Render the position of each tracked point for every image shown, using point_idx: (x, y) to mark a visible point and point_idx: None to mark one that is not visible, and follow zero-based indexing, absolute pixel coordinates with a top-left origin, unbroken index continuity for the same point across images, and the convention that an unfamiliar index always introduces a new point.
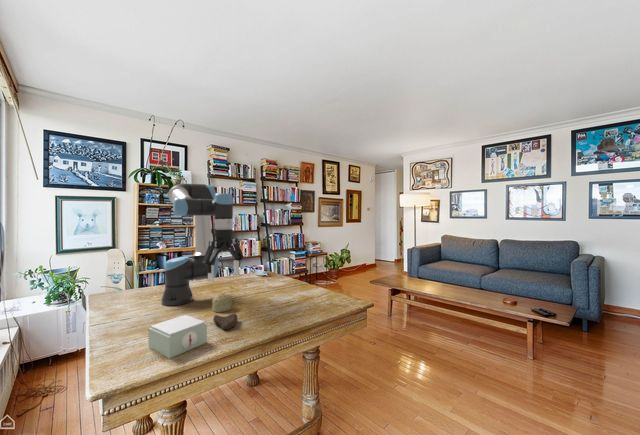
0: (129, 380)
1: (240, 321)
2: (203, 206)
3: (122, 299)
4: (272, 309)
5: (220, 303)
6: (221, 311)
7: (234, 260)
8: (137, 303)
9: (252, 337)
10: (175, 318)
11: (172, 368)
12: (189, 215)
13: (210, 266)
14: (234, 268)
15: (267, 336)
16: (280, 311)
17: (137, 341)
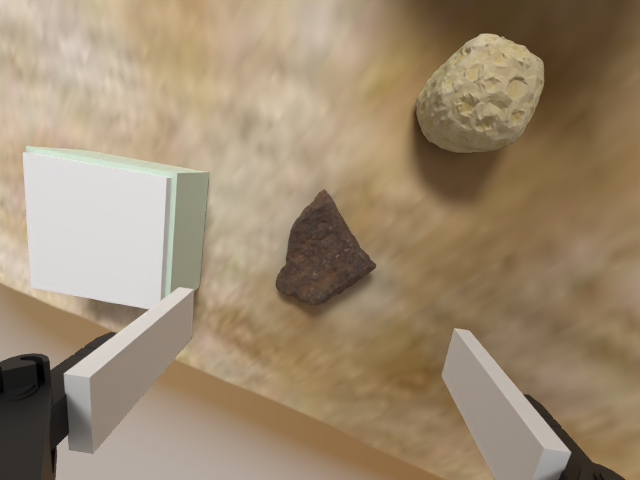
0: None
1: (374, 274)
2: None
3: None
4: (534, 313)
5: (437, 128)
6: (427, 137)
7: (537, 464)
8: None
9: (284, 381)
10: (119, 175)
11: (69, 311)
12: None
13: (70, 418)
14: (476, 377)
15: (307, 413)
16: (520, 352)
17: (88, 65)
